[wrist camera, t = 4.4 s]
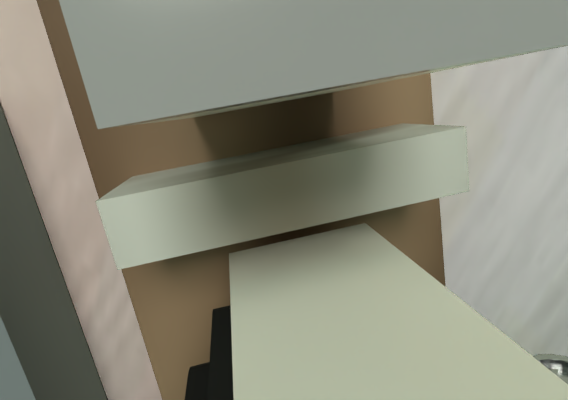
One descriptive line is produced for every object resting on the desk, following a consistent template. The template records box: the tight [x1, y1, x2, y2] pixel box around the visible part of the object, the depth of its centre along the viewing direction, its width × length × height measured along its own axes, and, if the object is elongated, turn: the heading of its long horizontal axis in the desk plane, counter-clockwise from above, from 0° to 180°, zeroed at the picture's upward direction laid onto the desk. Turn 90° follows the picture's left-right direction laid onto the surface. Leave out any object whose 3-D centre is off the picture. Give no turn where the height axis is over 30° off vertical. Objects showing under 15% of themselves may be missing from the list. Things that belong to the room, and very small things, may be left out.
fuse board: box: [37, 0, 469, 400], centre depth 11 cm, size 10×29×4 cm, turn 10°
